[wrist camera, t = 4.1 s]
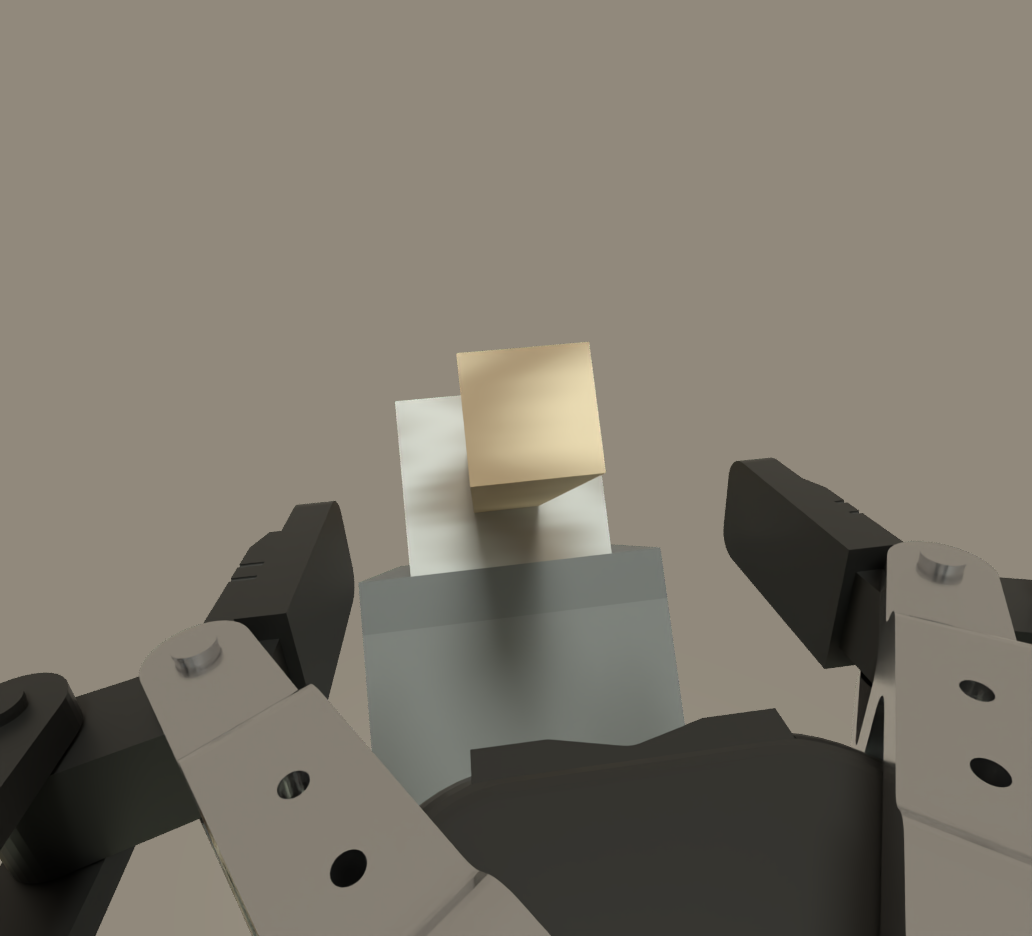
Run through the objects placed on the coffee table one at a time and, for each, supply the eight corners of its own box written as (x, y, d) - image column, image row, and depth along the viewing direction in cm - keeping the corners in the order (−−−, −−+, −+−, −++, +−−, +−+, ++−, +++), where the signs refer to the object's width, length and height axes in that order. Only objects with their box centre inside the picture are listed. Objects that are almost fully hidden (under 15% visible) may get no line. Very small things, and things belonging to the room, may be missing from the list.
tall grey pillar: (437, 1581, 18) (358, 582, 22) (453, 1170, 30) (400, 566, 34) (790, 1490, 19) (660, 547, 23) (671, 1126, 31) (597, 543, 35)
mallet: (332, 624, 10) (305, 255, 11) (428, 565, 30) (416, 436, 31) (759, 572, 11) (705, 227, 12) (577, 548, 31) (561, 422, 31)
